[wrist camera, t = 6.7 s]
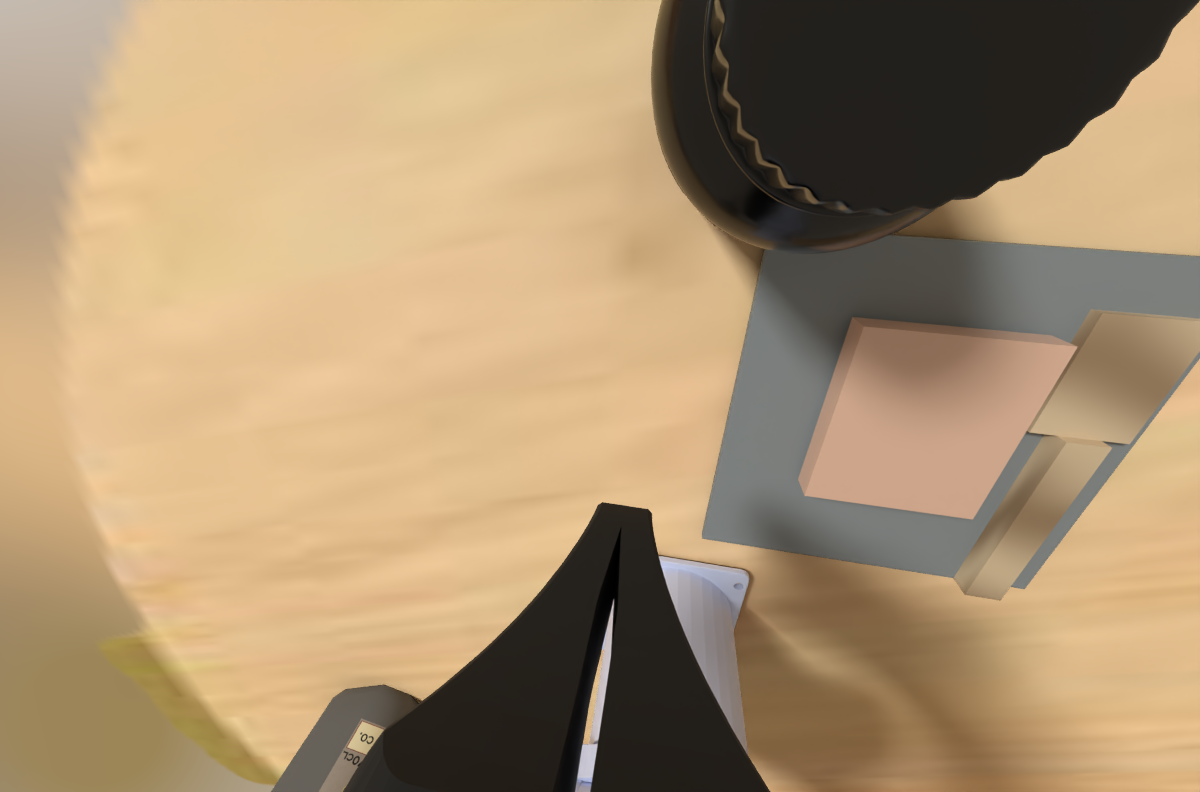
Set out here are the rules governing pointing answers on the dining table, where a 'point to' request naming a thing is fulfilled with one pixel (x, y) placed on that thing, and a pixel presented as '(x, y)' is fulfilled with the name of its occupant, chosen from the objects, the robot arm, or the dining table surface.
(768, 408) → the mat
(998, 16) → the supplement bottle
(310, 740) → the liquor
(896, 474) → the tile
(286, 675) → the dining table surface
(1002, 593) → the turner
